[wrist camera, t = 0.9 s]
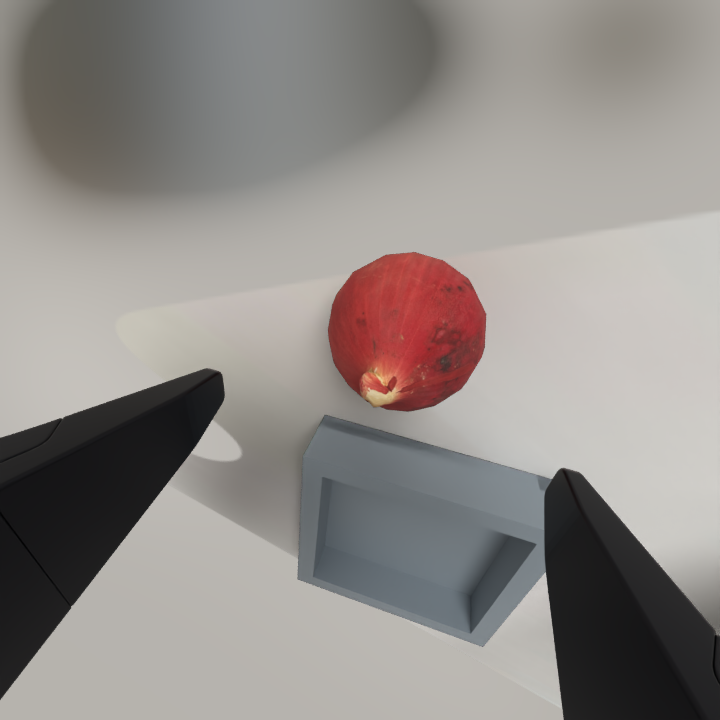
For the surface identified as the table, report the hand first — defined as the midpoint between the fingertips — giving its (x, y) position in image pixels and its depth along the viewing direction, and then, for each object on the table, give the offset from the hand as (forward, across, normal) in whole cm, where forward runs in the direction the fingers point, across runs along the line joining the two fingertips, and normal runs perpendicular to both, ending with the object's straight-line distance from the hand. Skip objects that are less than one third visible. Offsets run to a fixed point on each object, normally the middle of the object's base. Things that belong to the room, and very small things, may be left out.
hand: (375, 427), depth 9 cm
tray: (+9, -3, +16) cm, 19 cm away
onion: (+9, 0, 0) cm, 9 cm away
